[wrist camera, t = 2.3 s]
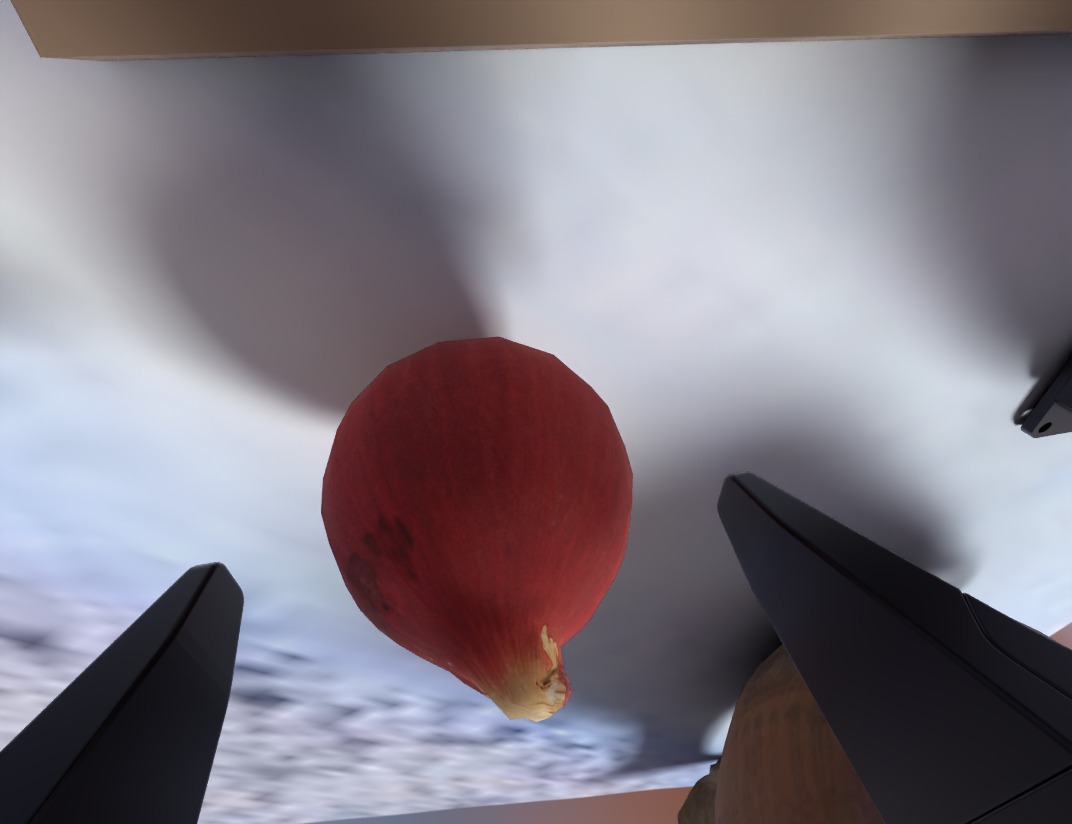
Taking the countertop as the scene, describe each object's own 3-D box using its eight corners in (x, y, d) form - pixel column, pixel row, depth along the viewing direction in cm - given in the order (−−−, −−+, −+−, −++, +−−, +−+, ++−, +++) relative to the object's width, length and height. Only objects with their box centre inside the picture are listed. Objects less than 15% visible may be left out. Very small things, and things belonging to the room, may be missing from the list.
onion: (428, 497, 14) (434, 839, 8) (297, 351, 11) (114, 749, 4) (601, 416, 14) (759, 710, 7) (521, 235, 10) (687, 494, 4)
